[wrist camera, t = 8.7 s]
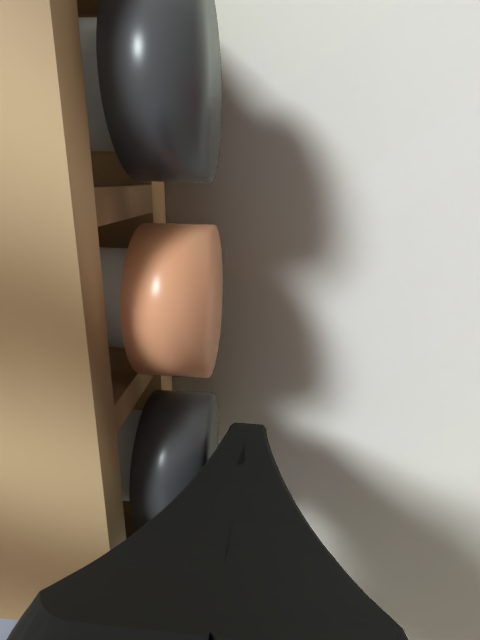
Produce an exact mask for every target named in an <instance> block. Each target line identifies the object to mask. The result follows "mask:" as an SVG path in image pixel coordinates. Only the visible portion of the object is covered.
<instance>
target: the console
mask: <svg viewBox="0 0 480 640" xmlns="http://www.w3.org/2000/svg"><path fill="white" fill-rule="evenodd" d="M99 1H100V0H0V618H2V619H11V620H19V619H20V618H21V616H22V615H23V613H24V612H25V611H26V609H27V608H28V607H29V606H30V604H31V603H32V601H33V600H34V598H35V597H36V596H37V594H38V593H39V591H41V590H42V589H44V588H46V587H48V586H50V585H52V584H54V583H56V582H58V581H59V580H61V579H63V578H65V577H67V576H68V575H70V574H72V573H74V572H76V571H77V570H79V569H81V568H83V567H85V566H86V565H88V564H90V563H91V562H93V561H95V560H96V559H98V558H99V557H101V556H102V555H104V554H105V553H107V552H108V551H110V550H111V549H113V548H114V547H116V546H117V545H119V544H120V543H121V542H123V541H124V540H126V539H127V538H129V537H130V536H131V535H133V534H134V533H135V532H136V531H138V530H139V529H140V528H139V527H137V526H136V525H135V523H134V521H133V518H132V514H131V508H130V501H123V499H122V488H121V477H120V466H119V455H118V444H117V432H118V431H119V429H120V428H121V426H122V425H123V423H124V421H125V420H126V418H127V417H128V415H129V414H130V412H131V410H143V408H144V406H145V404H146V402H147V400H148V398H149V396H150V395H151V394H152V393H153V391H155V390H173V389H172V376H164V375H147V374H138V373H136V372H135V371H134V370H133V368H132V367H131V365H130V363H129V361H128V358H127V355H126V352H125V348H117V347H108V336H107V325H106V314H105V303H104V292H103V281H102V271H101V260H100V249H99V247H106V248H128V246H129V243H130V240H131V238H132V236H133V234H134V232H135V230H136V229H137V228H138V227H139V226H140V225H141V224H143V223H166V210H165V184H164V182H154V181H135V180H134V179H132V178H131V177H130V176H129V175H128V174H127V173H126V171H125V170H124V169H123V167H122V165H121V163H120V161H119V159H118V157H117V154H116V152H114V151H90V140H89V129H88V118H87V108H86V97H85V86H84V75H83V64H82V53H81V42H80V31H79V21H78V17H97V14H98V6H99Z"/></svg>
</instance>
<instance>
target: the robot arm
mask: <svg viewBox="0 0 480 640" xmlns="http://www.w3.org/2000/svg"><path fill="white" fill-rule="evenodd" d="M0 640H408V638H407V636H406V634H405V632H404V630H403V629H402V628H401V627H400V626H399V625H398V624H397V623H396V622H395V621H394V620H393V619H392V618H391V617H390V616H389V615H388V614H386V613H385V612H384V611H383V610H382V609H381V608H380V607H379V606H378V605H377V604H376V603H375V602H374V601H373V600H372V599H370V598H369V597H368V596H367V595H366V594H365V593H364V591H363V590H362V589H361V588H360V587H359V586H358V585H357V584H356V583H355V582H354V581H353V580H352V579H351V577H350V576H349V575H348V574H347V573H346V572H345V571H344V569H343V568H342V567H341V566H340V564H339V563H338V562H337V561H336V560H335V558H334V557H333V556H332V555H331V554H330V552H329V551H328V550H327V549H326V547H325V546H324V545H323V544H322V542H321V541H320V540H319V538H318V537H317V535H316V534H315V533H314V531H313V530H312V528H311V527H310V525H309V524H308V522H307V521H306V519H305V518H304V516H303V515H302V513H301V512H300V510H299V508H298V507H297V505H296V503H295V501H294V500H293V498H292V496H291V494H290V492H289V490H288V488H287V487H286V485H285V482H284V480H283V478H282V476H281V474H280V472H279V469H278V467H277V465H276V462H275V460H274V457H273V455H272V452H271V449H270V446H269V442H268V438H267V433H266V428H265V427H264V426H263V425H259V424H244V423H234V424H232V425H231V426H230V428H229V430H228V432H227V433H226V435H225V437H224V438H223V440H222V441H221V443H220V444H219V446H218V447H217V449H216V450H215V452H214V453H213V454H212V456H211V457H210V458H209V460H208V461H207V462H206V463H205V465H204V466H203V467H202V469H201V470H200V471H199V472H198V473H197V474H196V476H195V477H194V478H193V479H192V480H191V481H190V482H189V484H188V485H187V486H186V487H185V488H184V489H183V490H182V491H181V492H180V493H179V494H178V495H177V496H176V497H175V498H174V499H173V500H172V501H171V502H170V503H169V504H168V505H167V506H166V507H165V508H164V509H163V510H162V511H160V512H159V513H158V514H157V515H156V516H155V517H153V518H152V519H151V520H150V521H149V522H147V523H146V524H145V525H144V526H143V527H142V528H140V529H139V530H138V531H136V532H135V533H134V534H133V535H131V536H130V537H129V538H127V539H126V540H124V541H123V542H121V543H120V544H119V545H117V546H116V547H114V548H113V549H111V550H110V551H108V552H107V553H105V554H104V555H102V556H101V557H99V558H98V559H96V560H95V561H93V562H91V563H90V564H88V565H86V566H85V567H83V568H81V569H79V570H77V571H76V572H74V573H72V574H70V575H68V576H67V577H65V578H63V579H61V580H59V581H58V582H56V583H54V584H52V585H50V586H48V587H46V588H44V589H42V590H41V591H39V593H38V594H37V596H36V597H35V598H34V600H33V601H32V603H31V604H30V606H29V607H28V608H27V609H26V611H25V612H24V613H23V615H22V616H21V618H20V619H19V620H11V619H2V618H0Z"/></svg>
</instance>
